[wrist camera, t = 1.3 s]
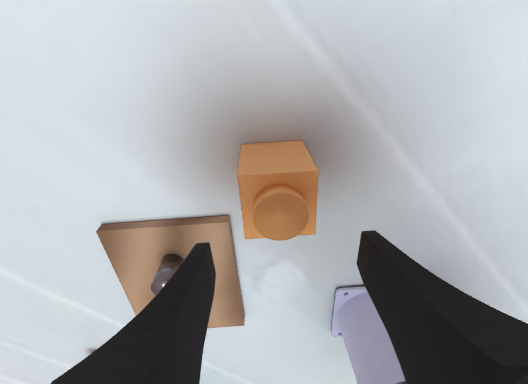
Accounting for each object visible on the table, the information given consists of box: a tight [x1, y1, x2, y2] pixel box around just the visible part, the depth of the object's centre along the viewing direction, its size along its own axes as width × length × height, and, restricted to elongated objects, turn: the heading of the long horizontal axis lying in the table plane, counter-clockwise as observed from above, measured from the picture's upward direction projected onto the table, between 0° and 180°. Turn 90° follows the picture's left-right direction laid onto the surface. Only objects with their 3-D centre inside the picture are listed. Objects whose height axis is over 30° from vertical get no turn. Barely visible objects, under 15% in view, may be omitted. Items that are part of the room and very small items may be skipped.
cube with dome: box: [238, 140, 318, 240], centre depth 18 cm, size 5×5×7 cm
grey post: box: [151, 254, 184, 295], centre depth 22 cm, size 2×2×3 cm
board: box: [96, 215, 244, 328], centre depth 26 cm, size 11×14×1 cm
